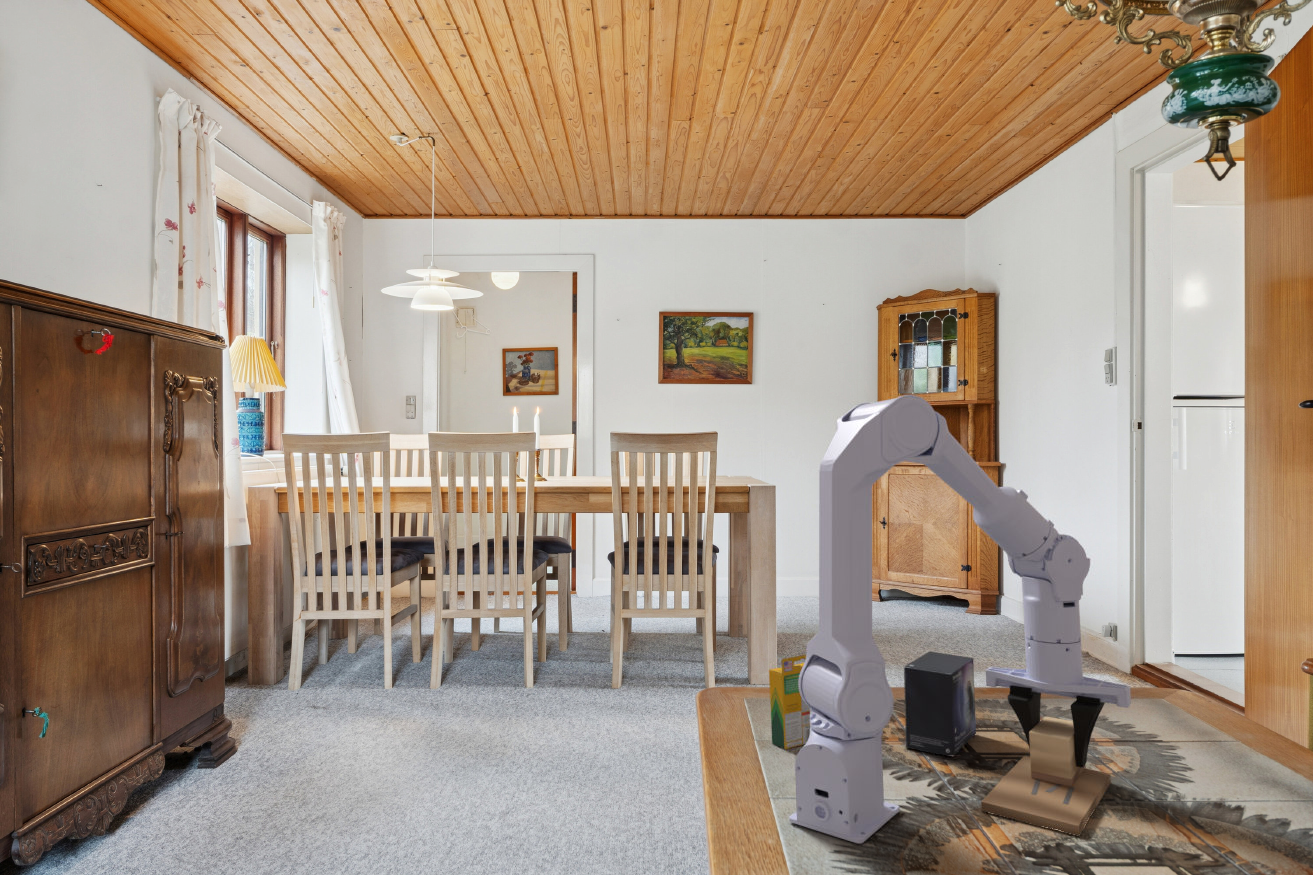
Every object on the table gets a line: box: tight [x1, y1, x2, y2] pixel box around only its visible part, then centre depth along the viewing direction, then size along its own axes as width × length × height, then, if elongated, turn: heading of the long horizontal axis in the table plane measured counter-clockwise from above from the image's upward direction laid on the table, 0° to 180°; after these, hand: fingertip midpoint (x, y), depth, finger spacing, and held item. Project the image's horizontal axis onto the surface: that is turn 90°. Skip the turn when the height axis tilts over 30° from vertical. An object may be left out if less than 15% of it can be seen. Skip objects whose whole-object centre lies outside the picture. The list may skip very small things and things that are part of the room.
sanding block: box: [1029, 716, 1086, 787], centre depth 85 cm, size 7×4×5 cm, turn 139°
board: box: [980, 755, 1112, 837], centre depth 81 cm, size 16×9×1 cm, turn 139°
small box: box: [903, 650, 977, 756], centre depth 99 cm, size 11×6×10 cm, turn 143°
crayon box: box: [768, 654, 810, 751], centre depth 100 cm, size 7×3×12 cm, turn 120°
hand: (1058, 759), depth 85 cm, fingers closed on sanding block, 4 cm apart
